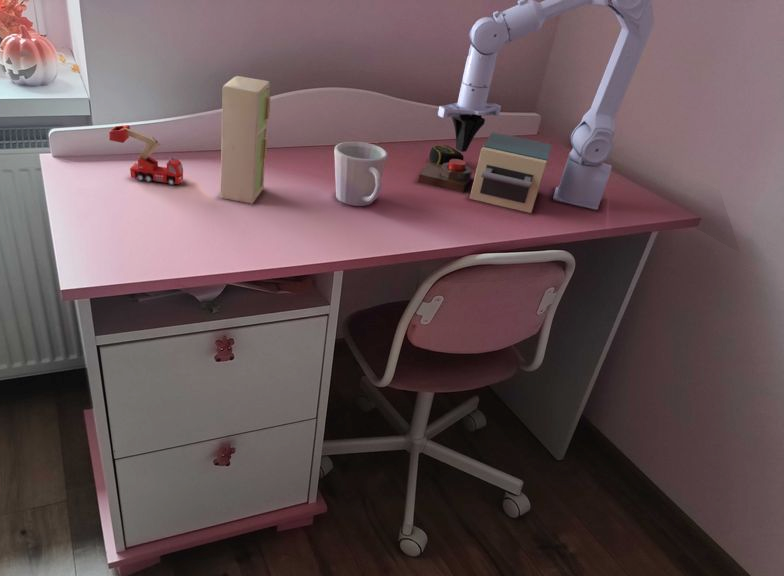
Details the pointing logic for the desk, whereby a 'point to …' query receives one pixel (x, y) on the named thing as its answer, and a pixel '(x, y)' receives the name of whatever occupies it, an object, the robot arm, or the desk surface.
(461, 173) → the timer block
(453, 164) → the button
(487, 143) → the toy oven
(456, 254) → the desk surface
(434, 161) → the tape measure
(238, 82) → the toy refrigerator
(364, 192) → the mug
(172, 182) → the toy fire truck
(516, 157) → the oven door
